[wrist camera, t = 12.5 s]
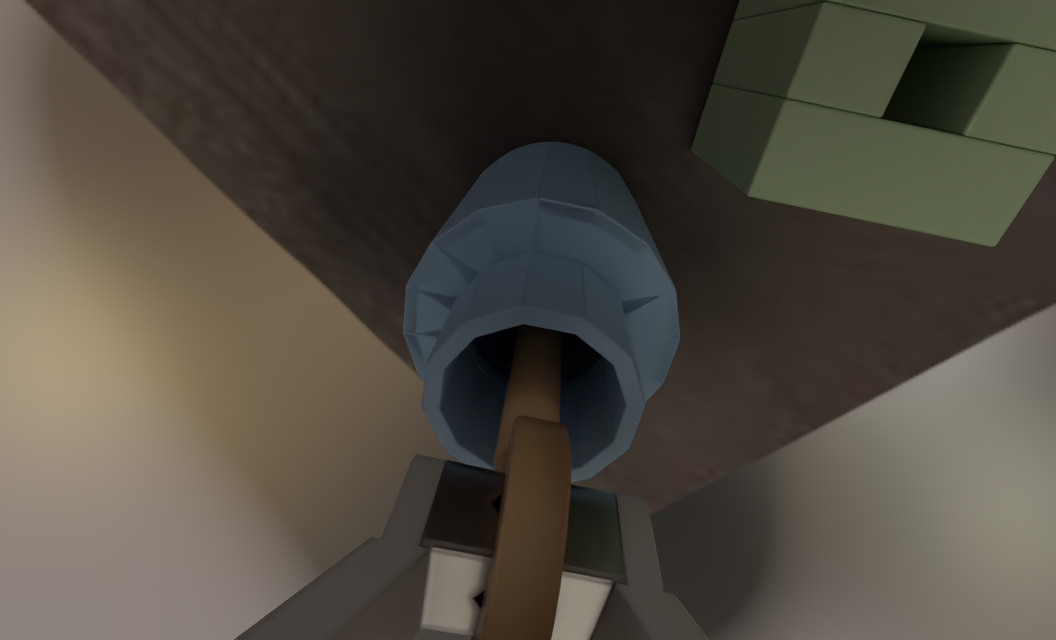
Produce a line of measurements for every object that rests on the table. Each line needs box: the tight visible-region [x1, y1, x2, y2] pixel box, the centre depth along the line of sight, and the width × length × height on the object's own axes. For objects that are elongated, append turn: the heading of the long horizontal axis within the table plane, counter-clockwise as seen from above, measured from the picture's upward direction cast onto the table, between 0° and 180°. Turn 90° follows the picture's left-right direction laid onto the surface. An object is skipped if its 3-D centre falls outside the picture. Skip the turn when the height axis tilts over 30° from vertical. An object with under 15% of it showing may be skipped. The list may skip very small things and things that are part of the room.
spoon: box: [471, 324, 571, 640], centre depth 13 cm, size 4×1×17 cm, turn 169°
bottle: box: [403, 142, 680, 482], centre depth 16 cm, size 7×7×12 cm
